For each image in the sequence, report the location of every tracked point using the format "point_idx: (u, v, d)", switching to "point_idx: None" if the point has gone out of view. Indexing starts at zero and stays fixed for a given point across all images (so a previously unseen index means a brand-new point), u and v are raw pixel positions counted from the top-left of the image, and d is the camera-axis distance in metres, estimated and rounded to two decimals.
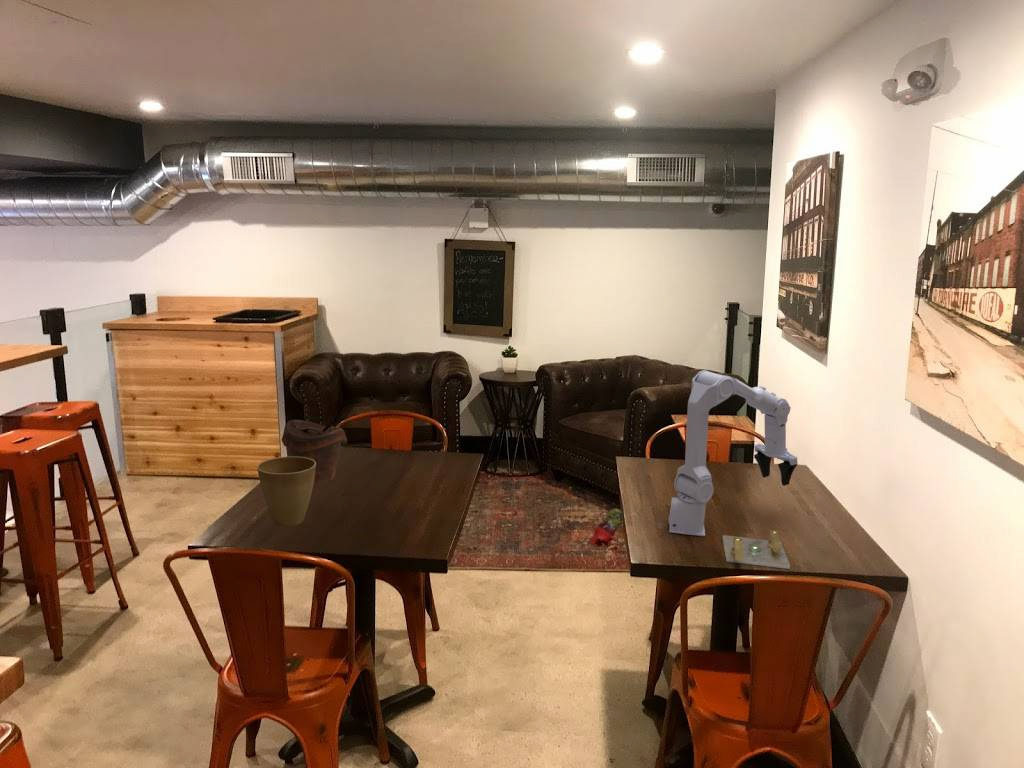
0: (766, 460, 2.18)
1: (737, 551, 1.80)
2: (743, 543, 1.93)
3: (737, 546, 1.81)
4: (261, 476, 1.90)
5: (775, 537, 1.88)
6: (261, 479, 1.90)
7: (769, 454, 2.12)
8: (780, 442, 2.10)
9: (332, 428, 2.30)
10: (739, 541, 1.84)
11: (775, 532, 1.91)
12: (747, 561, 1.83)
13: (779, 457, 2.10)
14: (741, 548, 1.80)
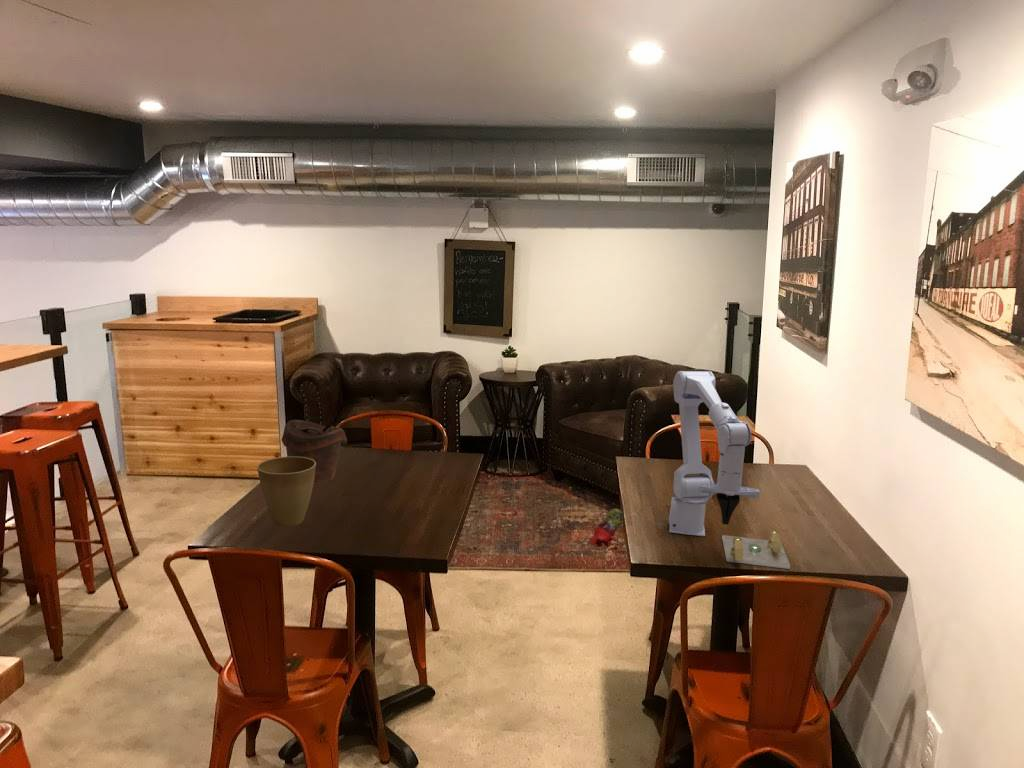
0: (728, 503, 1.82)
1: (737, 551, 1.80)
2: (743, 543, 1.93)
3: (737, 546, 1.81)
4: (261, 476, 1.90)
5: (775, 537, 1.88)
6: (261, 479, 1.90)
7: None
8: (718, 471, 1.82)
9: (332, 428, 2.30)
10: (739, 541, 1.84)
11: (775, 532, 1.91)
12: (747, 561, 1.83)
13: None
14: (741, 548, 1.80)
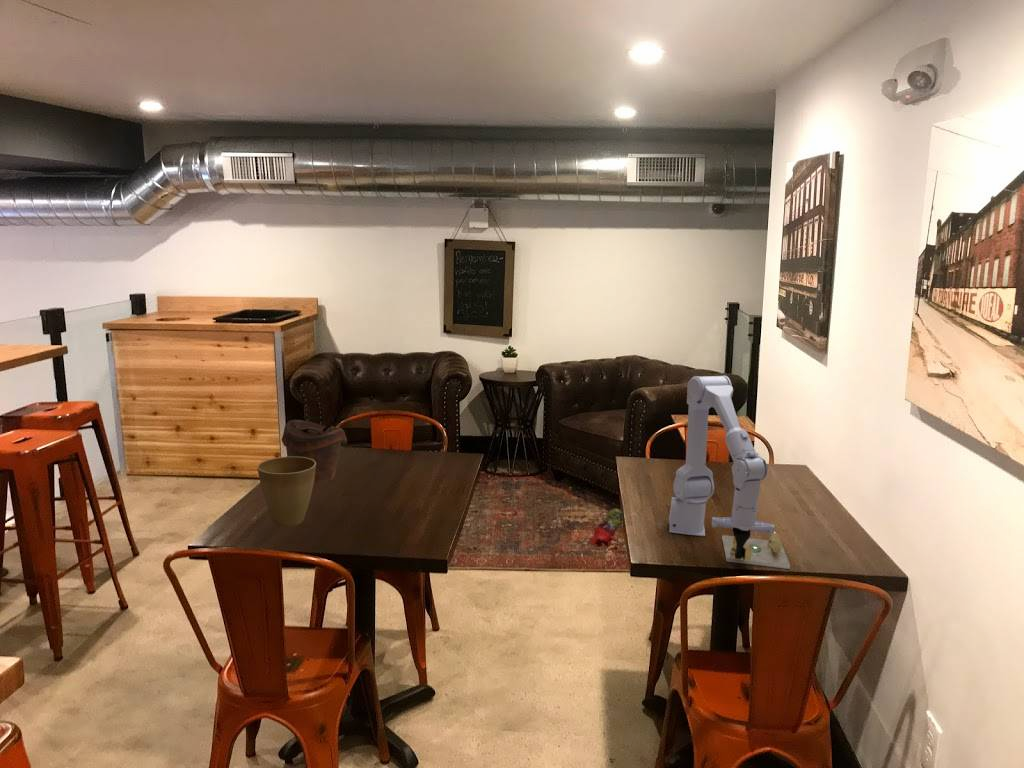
0: None
1: (746, 552, 1.80)
2: None
3: (744, 547, 1.81)
4: (261, 476, 1.90)
5: (775, 537, 1.88)
6: (261, 479, 1.90)
7: None
8: None
9: (332, 428, 2.30)
10: None
11: (775, 532, 1.91)
12: (747, 561, 1.83)
13: None
14: (749, 548, 1.80)
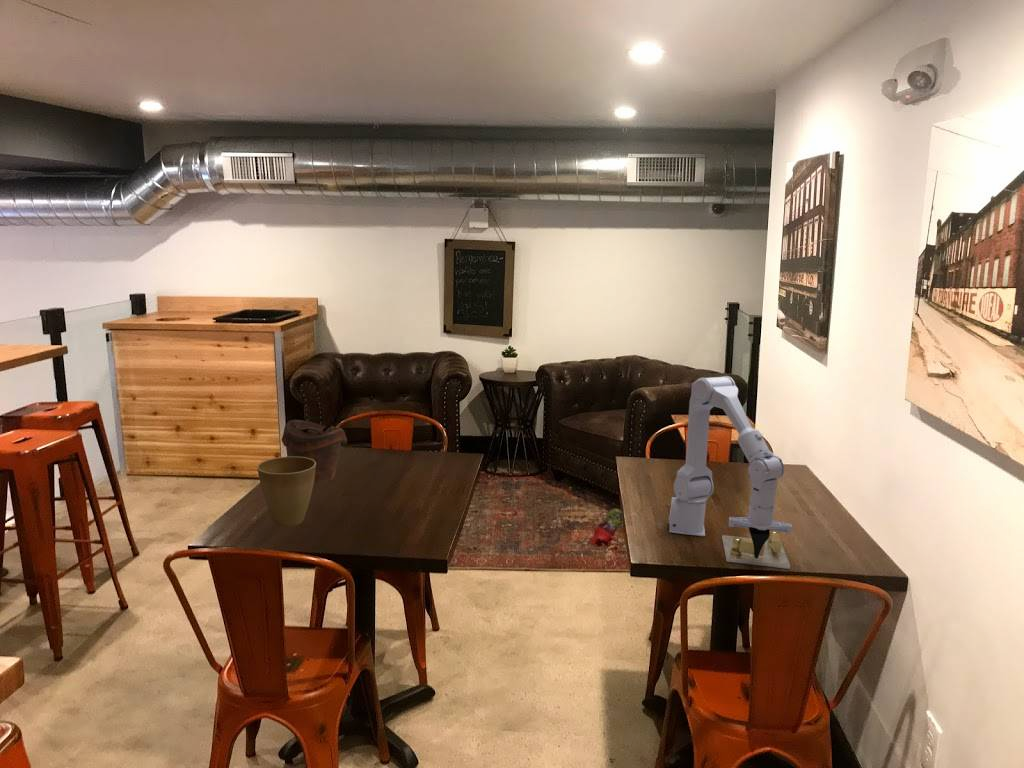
0: None
1: None
2: None
3: None
4: (261, 476, 1.90)
5: (775, 537, 1.88)
6: (261, 479, 1.90)
7: None
8: None
9: (332, 428, 2.30)
10: (744, 539, 1.86)
11: (775, 532, 1.91)
12: (747, 561, 1.83)
13: None
14: None
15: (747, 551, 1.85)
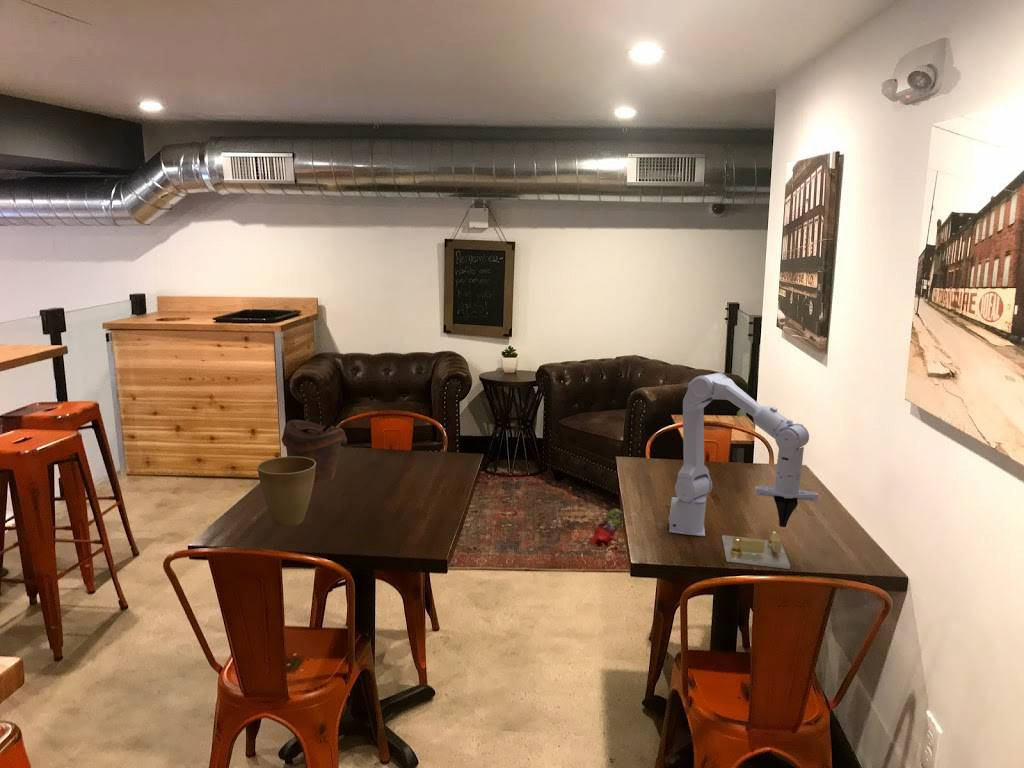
0: (785, 506, 1.82)
1: None
2: None
3: (758, 541, 1.85)
4: (261, 476, 1.90)
5: (775, 537, 1.88)
6: (261, 479, 1.90)
7: None
8: None
9: (332, 428, 2.30)
10: (743, 538, 1.86)
11: (775, 532, 1.91)
12: (747, 561, 1.83)
13: None
14: (761, 539, 1.86)
15: (748, 550, 1.85)
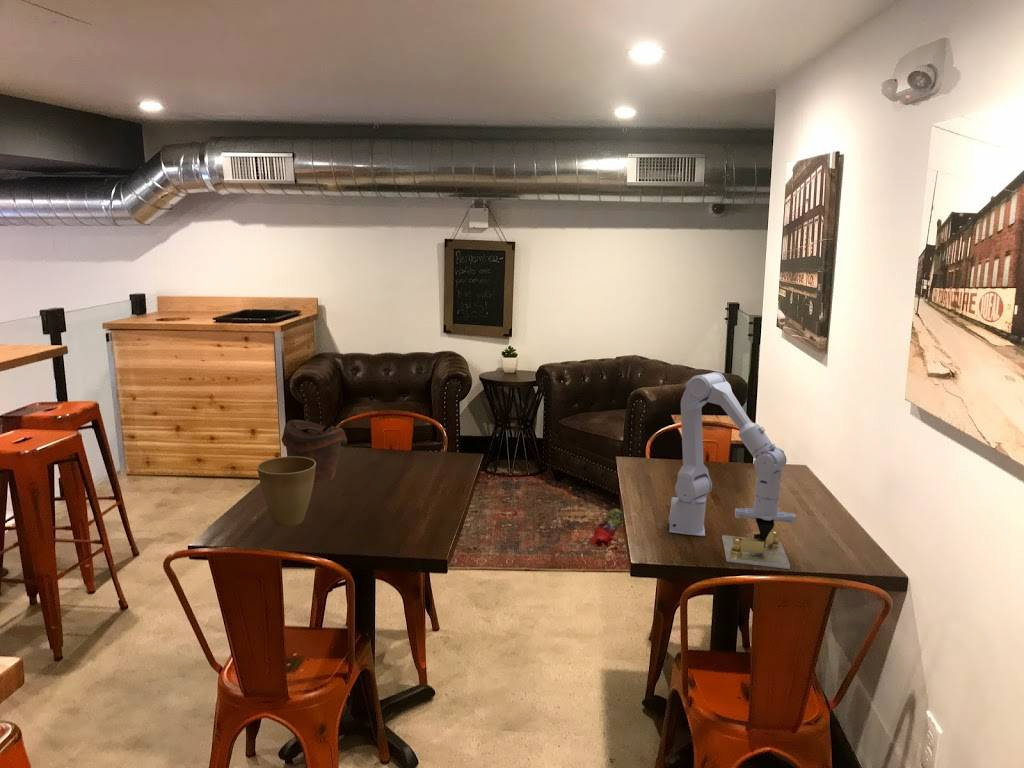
0: None
1: None
2: None
3: (758, 540, 1.85)
4: (261, 476, 1.90)
5: None
6: (261, 479, 1.90)
7: None
8: None
9: (332, 428, 2.30)
10: (743, 538, 1.86)
11: (773, 531, 1.92)
12: (747, 561, 1.83)
13: None
14: (761, 539, 1.86)
15: (748, 550, 1.86)
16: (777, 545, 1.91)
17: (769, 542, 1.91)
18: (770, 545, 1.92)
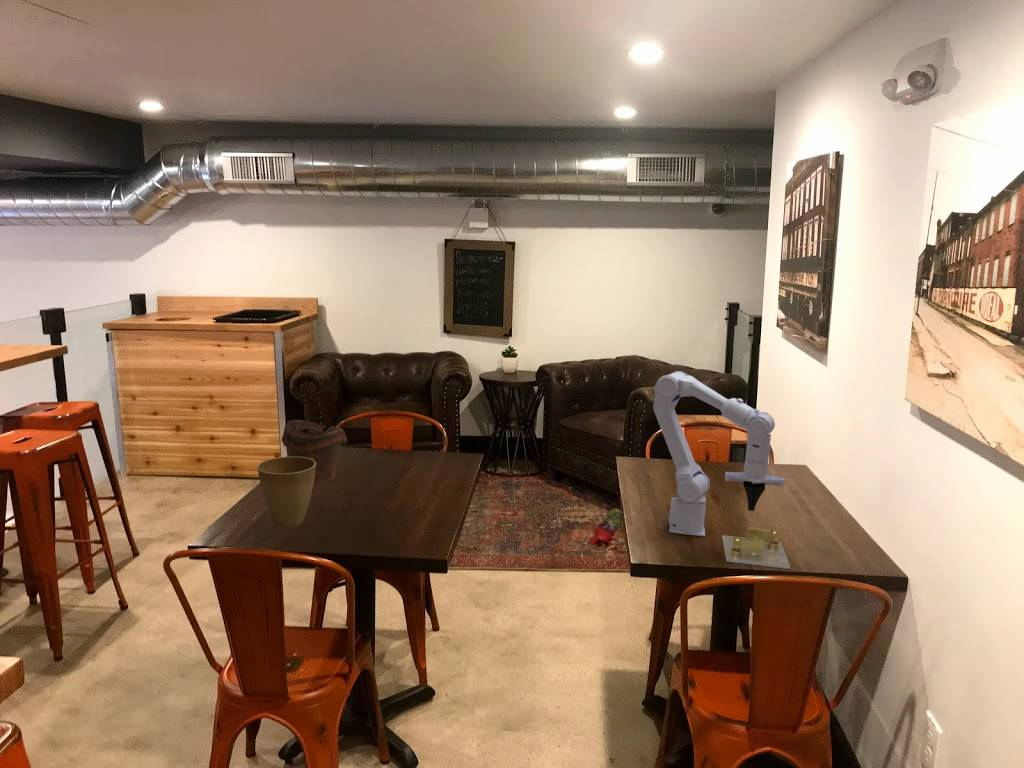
0: (753, 491, 1.92)
1: None
2: None
3: (758, 540, 1.85)
4: (261, 476, 1.90)
5: (758, 528, 1.93)
6: (261, 479, 1.90)
7: None
8: (745, 460, 1.92)
9: (332, 428, 2.30)
10: (743, 538, 1.86)
11: (772, 531, 1.92)
12: (747, 561, 1.83)
13: None
14: (761, 539, 1.86)
15: (748, 550, 1.86)
16: (775, 546, 1.91)
17: (766, 540, 1.92)
18: (768, 544, 1.92)
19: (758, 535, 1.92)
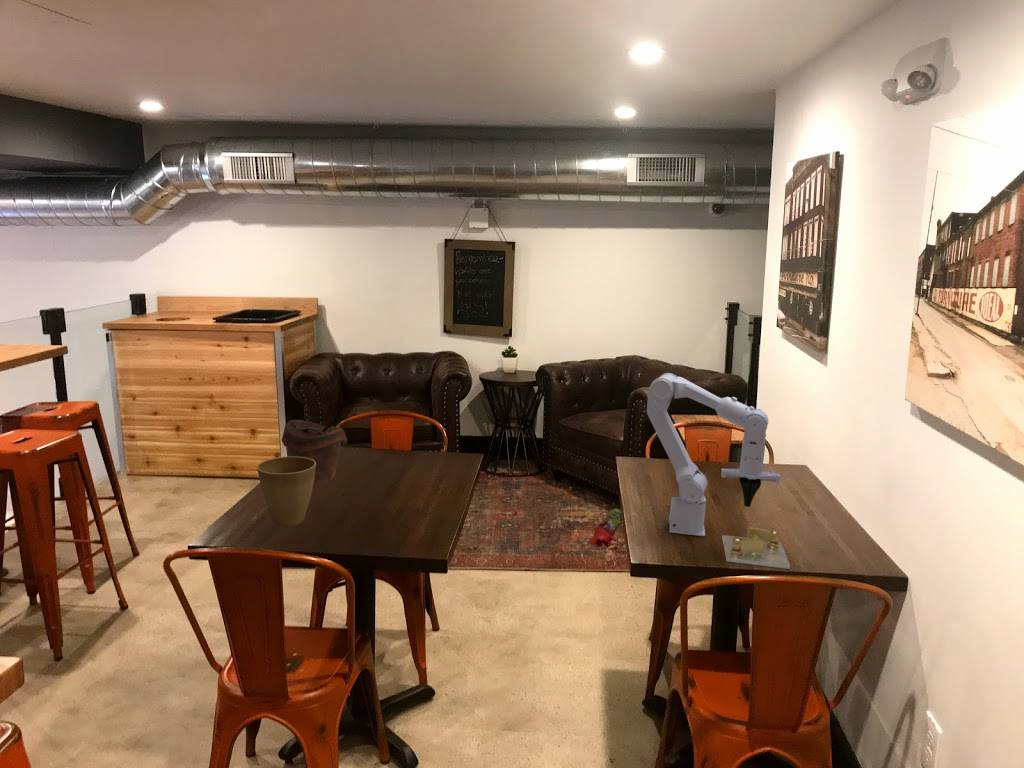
0: (749, 487, 1.95)
1: None
2: None
3: (758, 540, 1.85)
4: (261, 476, 1.90)
5: (758, 528, 1.93)
6: (261, 479, 1.90)
7: None
8: None
9: (332, 428, 2.30)
10: (743, 538, 1.86)
11: (772, 531, 1.92)
12: (747, 561, 1.83)
13: None
14: (761, 539, 1.86)
15: (748, 550, 1.86)
16: (775, 546, 1.91)
17: (766, 540, 1.92)
18: (768, 544, 1.92)
19: (758, 535, 1.92)
